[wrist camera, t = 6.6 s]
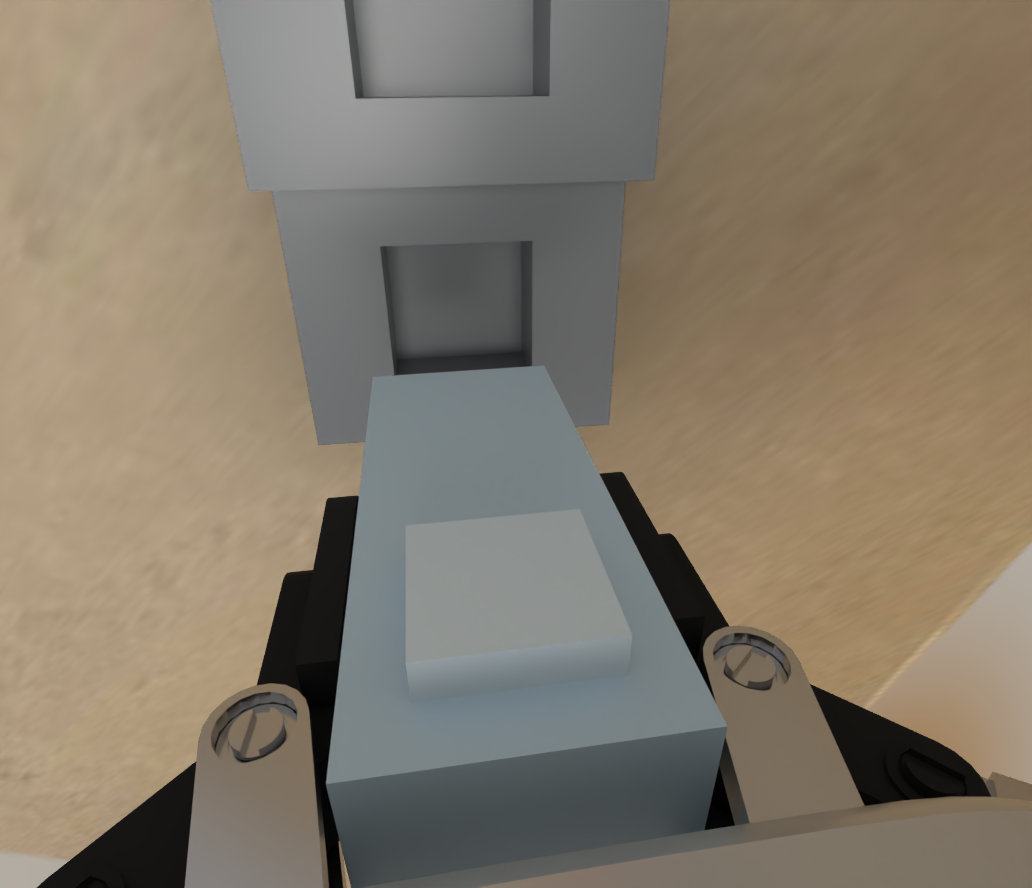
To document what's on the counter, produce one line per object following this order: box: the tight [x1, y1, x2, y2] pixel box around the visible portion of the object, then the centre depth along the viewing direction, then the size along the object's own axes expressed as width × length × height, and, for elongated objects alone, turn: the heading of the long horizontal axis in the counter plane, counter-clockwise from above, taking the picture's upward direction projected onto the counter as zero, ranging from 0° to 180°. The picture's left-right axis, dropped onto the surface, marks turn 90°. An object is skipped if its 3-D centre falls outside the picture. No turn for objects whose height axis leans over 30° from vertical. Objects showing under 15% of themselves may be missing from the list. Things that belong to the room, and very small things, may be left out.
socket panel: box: [210, 0, 670, 445], centre depth 22 cm, size 12×20×6 cm, turn 0°
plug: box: [326, 366, 728, 888], centre depth 11 cm, size 4×5×10 cm
